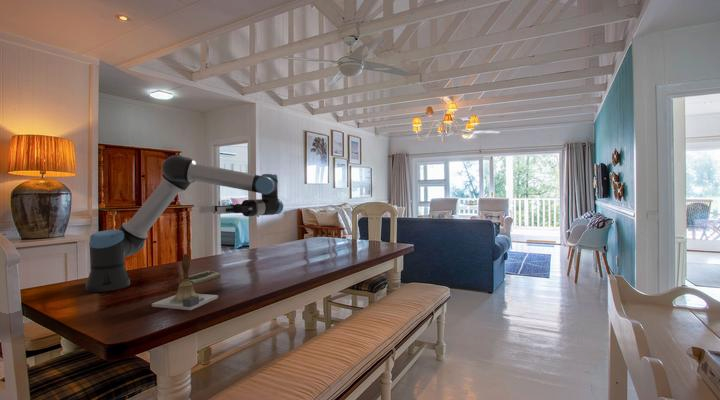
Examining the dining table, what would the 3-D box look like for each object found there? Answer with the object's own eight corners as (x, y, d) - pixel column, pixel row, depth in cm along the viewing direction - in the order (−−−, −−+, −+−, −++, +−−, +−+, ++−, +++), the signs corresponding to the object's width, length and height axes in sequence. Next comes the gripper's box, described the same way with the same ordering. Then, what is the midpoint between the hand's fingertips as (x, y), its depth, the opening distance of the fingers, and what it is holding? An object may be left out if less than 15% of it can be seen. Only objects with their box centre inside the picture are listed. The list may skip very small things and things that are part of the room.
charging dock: (151, 306, 123) (151, 296, 123) (182, 295, 136) (182, 286, 136) (190, 310, 118) (190, 300, 118) (218, 297, 132) (217, 288, 132)
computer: (193, 286, 150) (193, 278, 150) (179, 284, 154) (179, 277, 154) (220, 278, 165) (220, 270, 165) (207, 276, 168) (207, 269, 168)
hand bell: (182, 295, 132) (181, 252, 132) (203, 295, 131) (202, 252, 130) (167, 301, 124) (166, 256, 123) (189, 302, 123) (188, 256, 122)
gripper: (270, 217, 154) (225, 220, 137) (236, 215, 170) (193, 218, 153) (270, 199, 154) (225, 201, 137) (236, 199, 169) (192, 200, 153)
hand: (208, 210), depth 145 cm, fingers open, 13 cm apart
